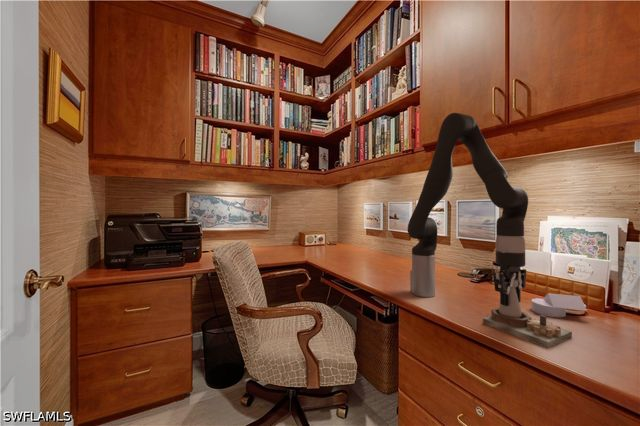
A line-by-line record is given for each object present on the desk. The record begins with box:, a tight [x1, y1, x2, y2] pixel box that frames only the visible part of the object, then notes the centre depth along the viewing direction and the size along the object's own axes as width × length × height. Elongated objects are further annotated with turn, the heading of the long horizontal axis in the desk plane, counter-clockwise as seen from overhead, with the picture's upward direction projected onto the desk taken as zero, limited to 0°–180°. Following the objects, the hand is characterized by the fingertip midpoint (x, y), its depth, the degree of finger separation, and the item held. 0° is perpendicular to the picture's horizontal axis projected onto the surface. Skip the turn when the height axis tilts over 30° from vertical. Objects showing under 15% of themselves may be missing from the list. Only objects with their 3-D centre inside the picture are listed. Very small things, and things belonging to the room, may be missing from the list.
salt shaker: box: [498, 279, 523, 319], centre depth 81 cm, size 6×6×13 cm
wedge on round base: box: [531, 292, 588, 318], centre depth 90 cm, size 9×7×13 cm
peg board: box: [482, 307, 573, 349], centre depth 77 cm, size 17×13×6 cm
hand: (510, 303), depth 81 cm, fingers open, 5 cm apart
